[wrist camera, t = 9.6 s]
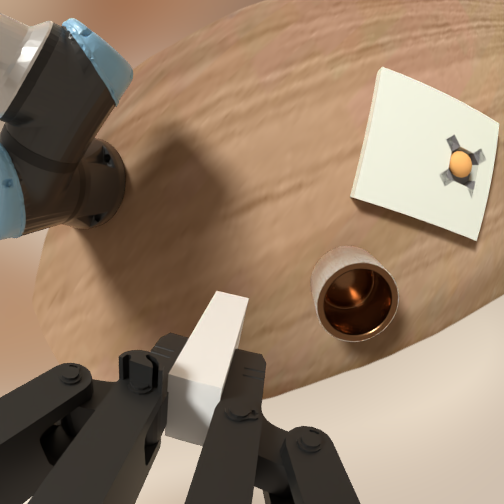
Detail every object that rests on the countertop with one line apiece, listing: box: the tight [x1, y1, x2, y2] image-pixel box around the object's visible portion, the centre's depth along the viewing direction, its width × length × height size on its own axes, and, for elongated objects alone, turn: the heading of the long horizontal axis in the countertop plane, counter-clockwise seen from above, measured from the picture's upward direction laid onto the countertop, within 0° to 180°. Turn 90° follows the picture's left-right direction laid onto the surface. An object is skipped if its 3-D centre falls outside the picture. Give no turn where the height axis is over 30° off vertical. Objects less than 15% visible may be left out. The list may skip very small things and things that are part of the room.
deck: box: [350, 67, 499, 241], centre depth 38 cm, size 22×20×2 cm
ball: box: [449, 151, 472, 178], centre depth 37 cm, size 4×4×4 cm
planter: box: [311, 246, 399, 342], centre depth 41 cm, size 11×11×10 cm
